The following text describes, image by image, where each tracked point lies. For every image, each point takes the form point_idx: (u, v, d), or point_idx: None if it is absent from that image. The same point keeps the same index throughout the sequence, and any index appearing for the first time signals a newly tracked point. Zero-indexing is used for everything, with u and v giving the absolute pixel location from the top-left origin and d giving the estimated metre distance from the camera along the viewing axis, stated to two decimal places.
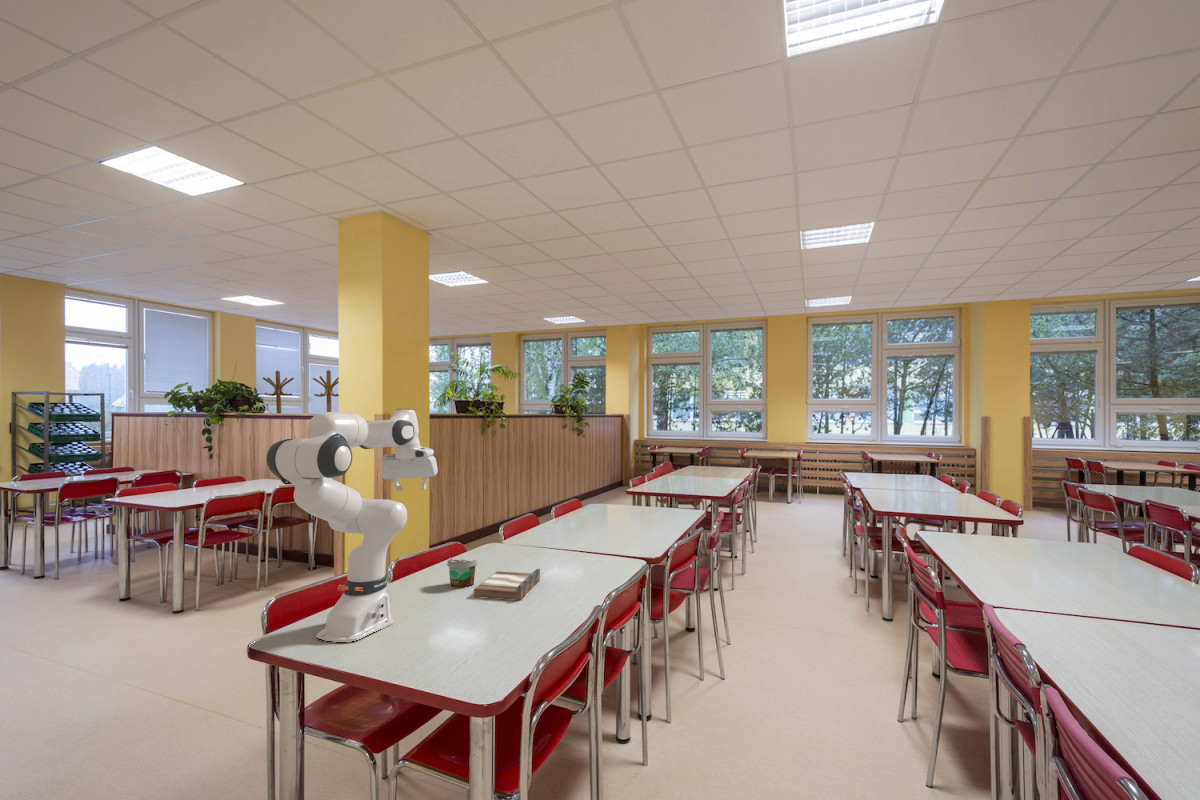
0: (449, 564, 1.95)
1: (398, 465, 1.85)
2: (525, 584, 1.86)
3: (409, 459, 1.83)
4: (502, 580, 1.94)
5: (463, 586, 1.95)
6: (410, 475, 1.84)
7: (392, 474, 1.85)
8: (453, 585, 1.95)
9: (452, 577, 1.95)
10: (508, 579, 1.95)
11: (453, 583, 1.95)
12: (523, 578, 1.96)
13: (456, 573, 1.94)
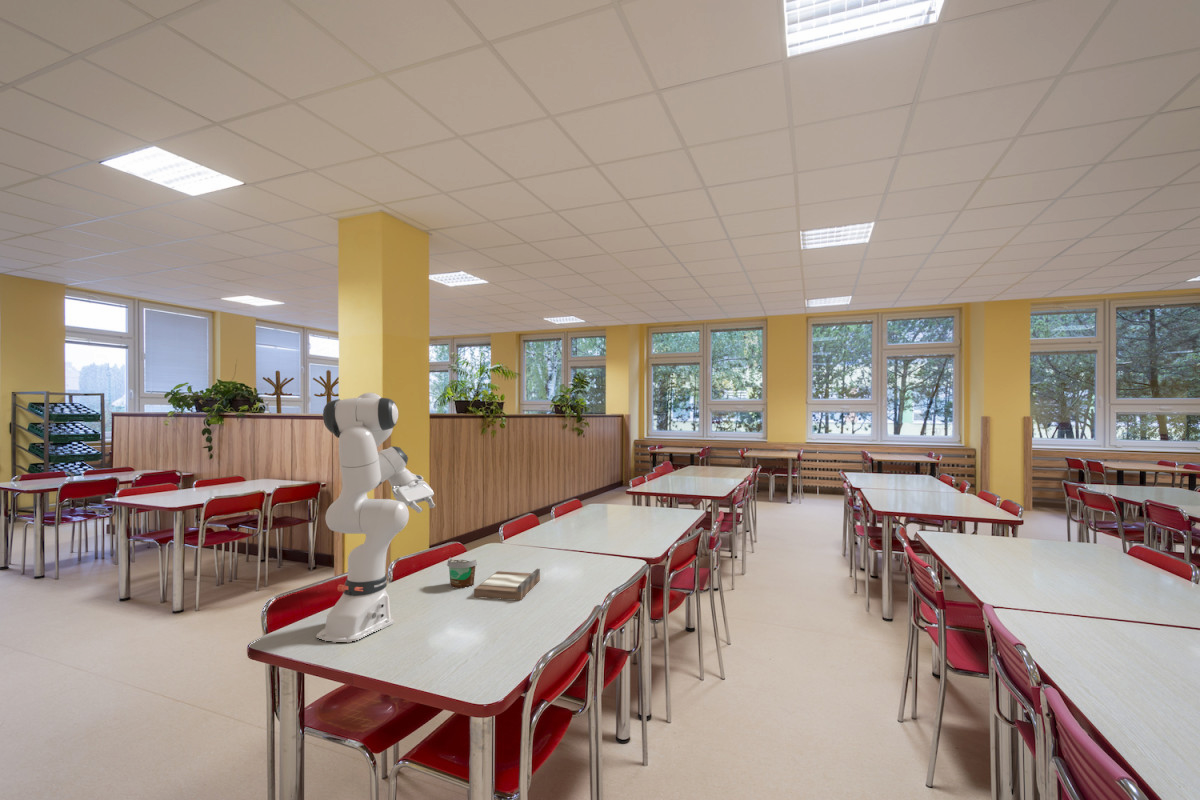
0: (449, 564, 1.95)
1: (409, 490, 1.98)
2: (525, 584, 1.86)
3: (415, 482, 2.03)
4: (502, 580, 1.94)
5: (463, 586, 1.95)
6: (422, 495, 2.02)
7: (412, 496, 1.95)
8: (453, 585, 1.95)
9: (452, 577, 1.95)
10: (508, 579, 1.95)
11: (453, 583, 1.95)
12: (523, 578, 1.96)
13: (456, 573, 1.94)
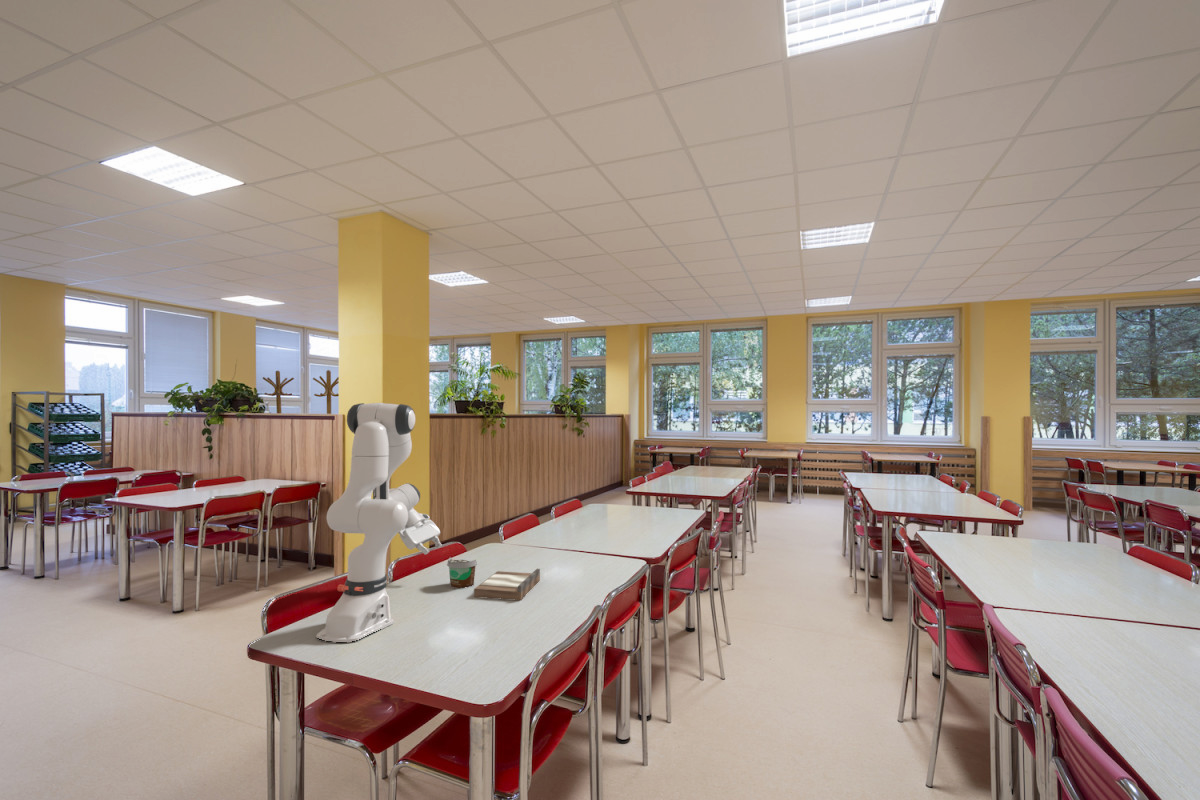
0: (449, 564, 1.95)
1: (416, 531, 1.97)
2: (525, 584, 1.86)
3: (421, 522, 2.02)
4: (502, 580, 1.94)
5: (463, 586, 1.95)
6: (429, 535, 2.01)
7: (419, 538, 1.94)
8: (453, 585, 1.95)
9: (452, 577, 1.95)
10: (508, 579, 1.95)
11: (453, 583, 1.95)
12: (523, 578, 1.96)
13: (456, 573, 1.94)
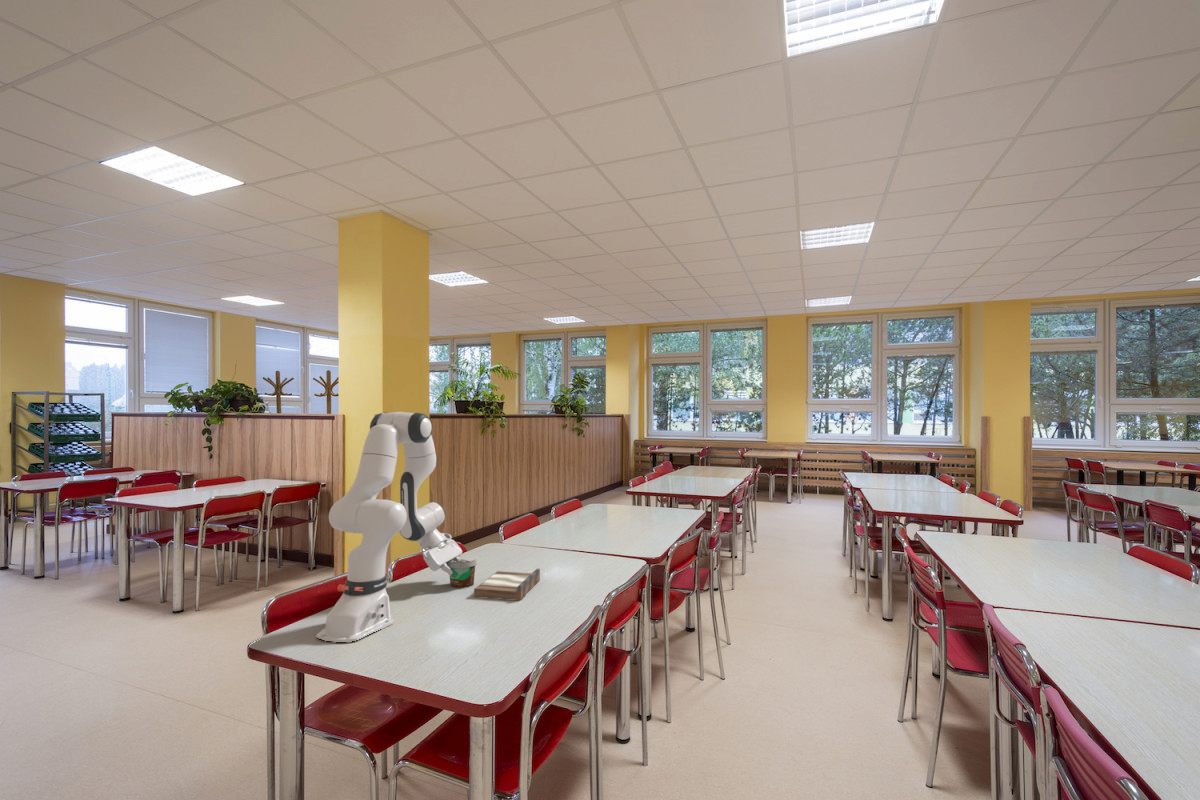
0: (449, 564, 1.95)
1: (439, 552, 1.95)
2: (525, 584, 1.86)
3: (444, 543, 2.00)
4: (502, 580, 1.94)
5: (463, 586, 1.95)
6: (451, 556, 1.99)
7: (442, 559, 1.92)
8: (453, 585, 1.95)
9: (452, 577, 1.95)
10: (508, 579, 1.95)
11: (453, 583, 1.95)
12: (523, 578, 1.96)
13: (456, 573, 1.94)
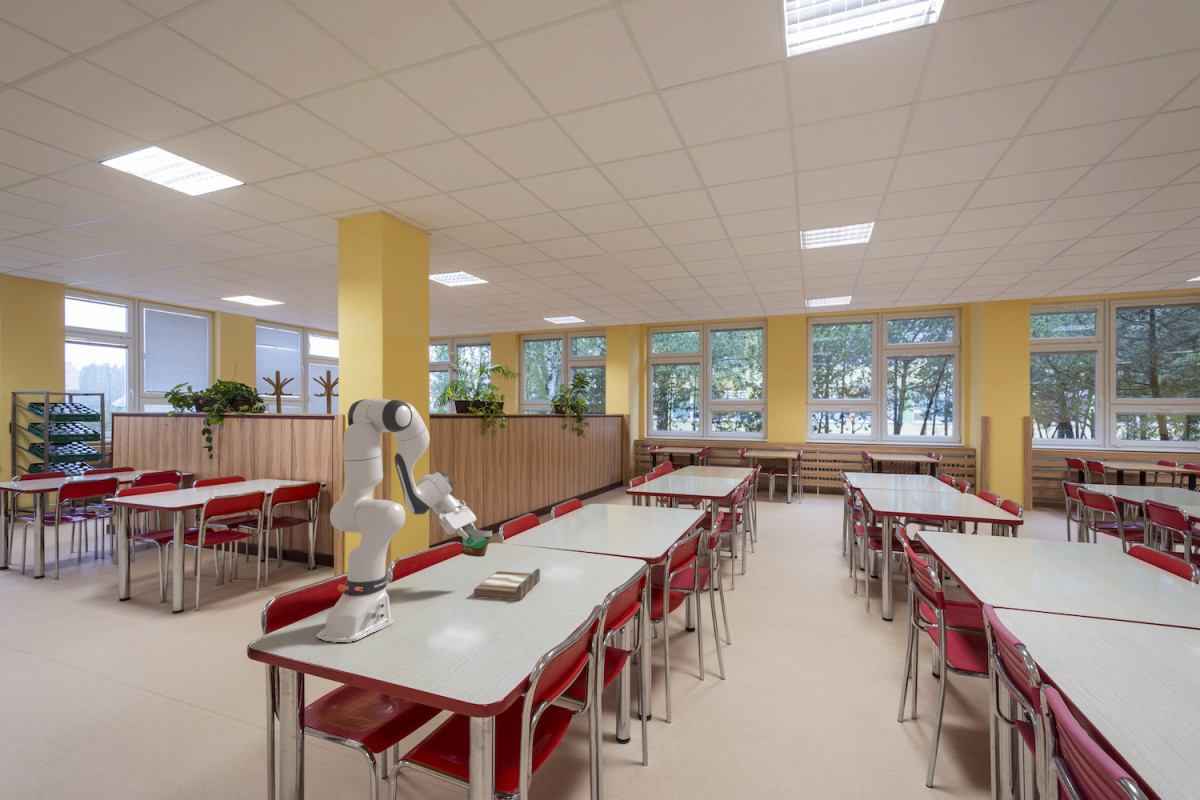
0: (465, 530, 1.95)
1: (454, 517, 1.95)
2: (525, 584, 1.86)
3: (459, 508, 2.00)
4: (502, 580, 1.94)
5: (476, 555, 1.94)
6: (466, 521, 1.98)
7: (458, 524, 1.92)
8: (466, 552, 1.94)
9: (466, 544, 1.95)
10: (508, 579, 1.95)
11: (466, 550, 1.94)
12: (523, 578, 1.96)
13: (472, 540, 1.94)
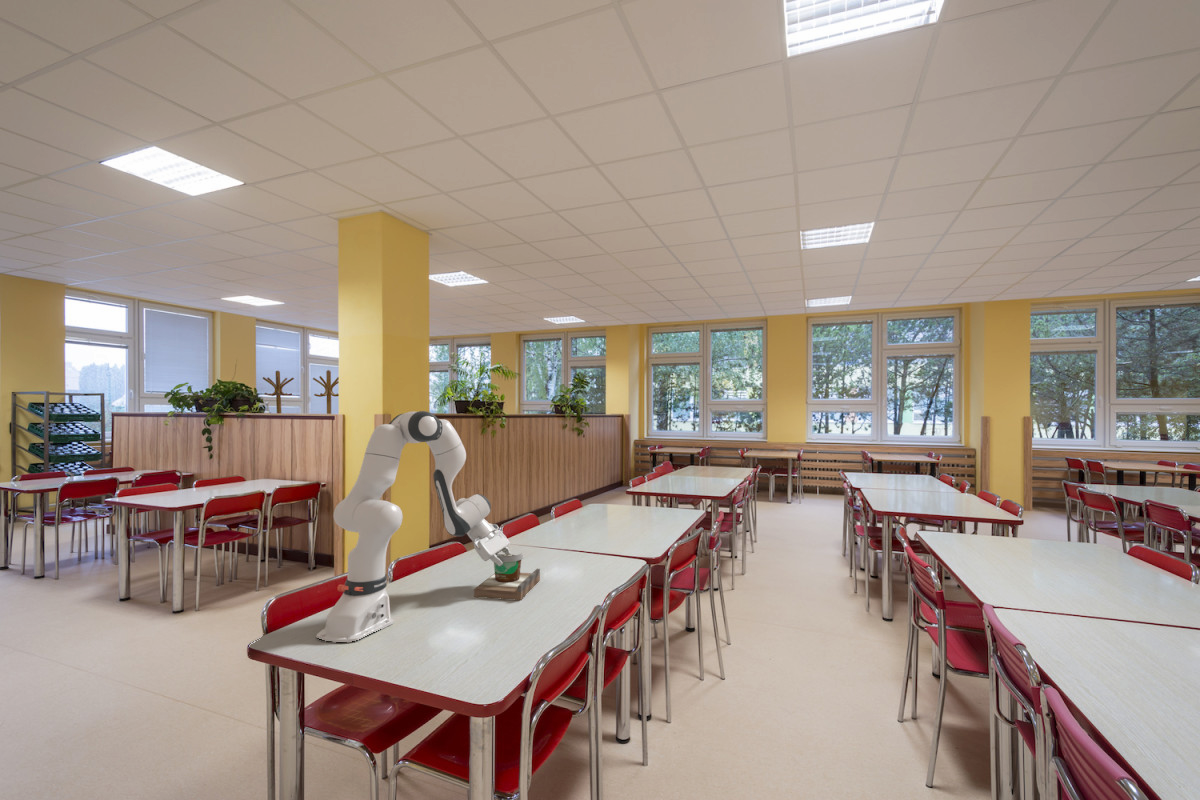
0: None
1: (489, 542, 1.92)
2: (525, 584, 1.86)
3: (493, 533, 1.97)
4: None
5: (510, 580, 1.92)
6: (501, 546, 1.96)
7: (493, 549, 1.89)
8: (500, 580, 1.91)
9: (499, 571, 1.92)
10: None
11: (500, 578, 1.91)
12: (523, 578, 1.96)
13: (504, 567, 1.91)
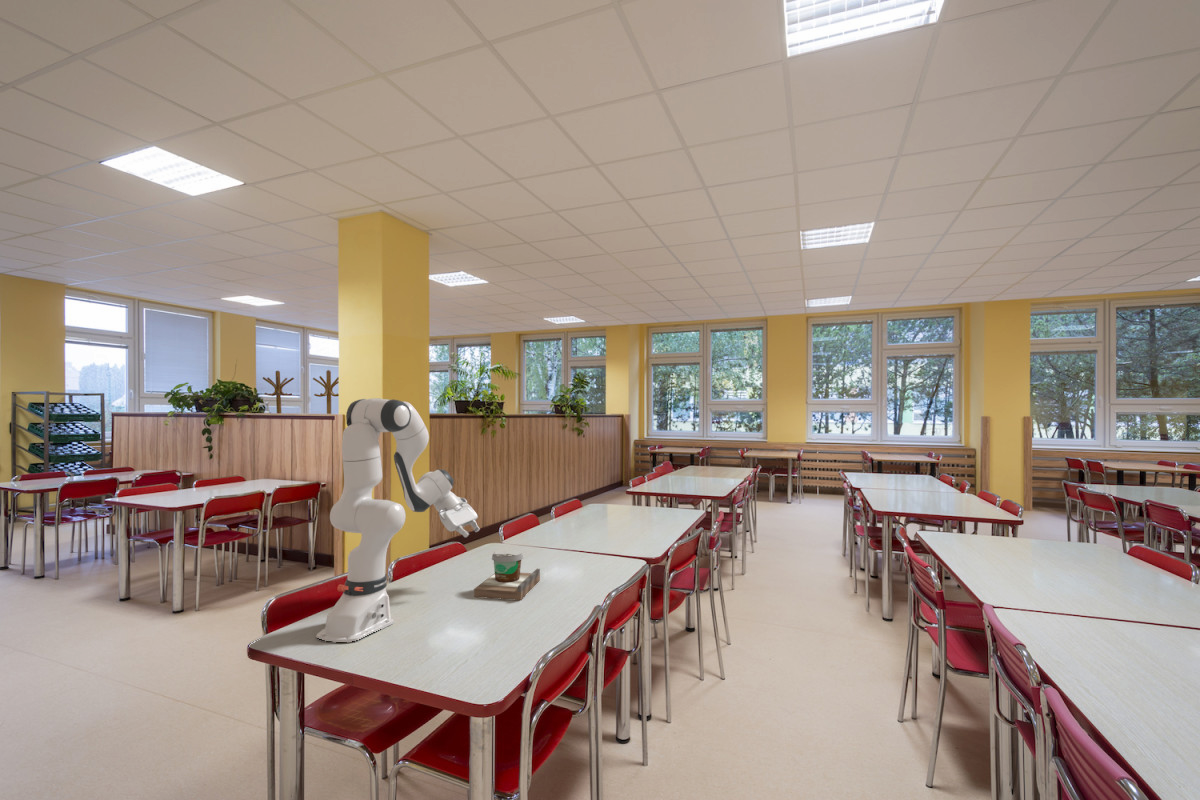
0: (495, 558, 1.92)
1: (455, 514, 1.95)
2: (525, 584, 1.86)
3: (460, 506, 2.00)
4: None
5: (510, 580, 1.92)
6: (467, 519, 1.98)
7: (458, 521, 1.92)
8: (500, 580, 1.91)
9: (499, 571, 1.92)
10: None
11: (500, 578, 1.91)
12: (523, 578, 1.96)
13: (504, 567, 1.91)
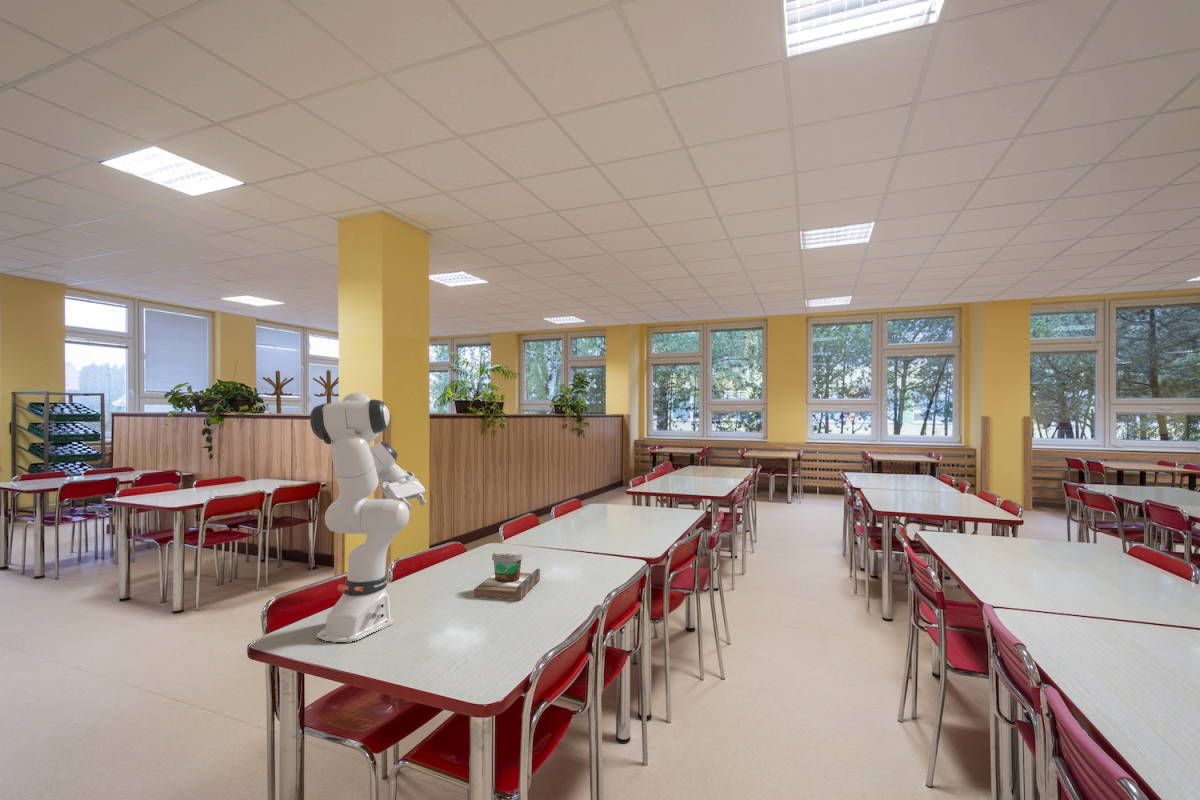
0: (495, 558, 1.92)
1: (399, 486, 1.92)
2: (525, 584, 1.86)
3: (405, 479, 1.98)
4: None
5: (510, 580, 1.92)
6: (413, 492, 1.96)
7: (402, 493, 1.90)
8: (500, 580, 1.91)
9: (499, 571, 1.92)
10: None
11: (500, 578, 1.91)
12: (523, 578, 1.96)
13: (504, 567, 1.91)
